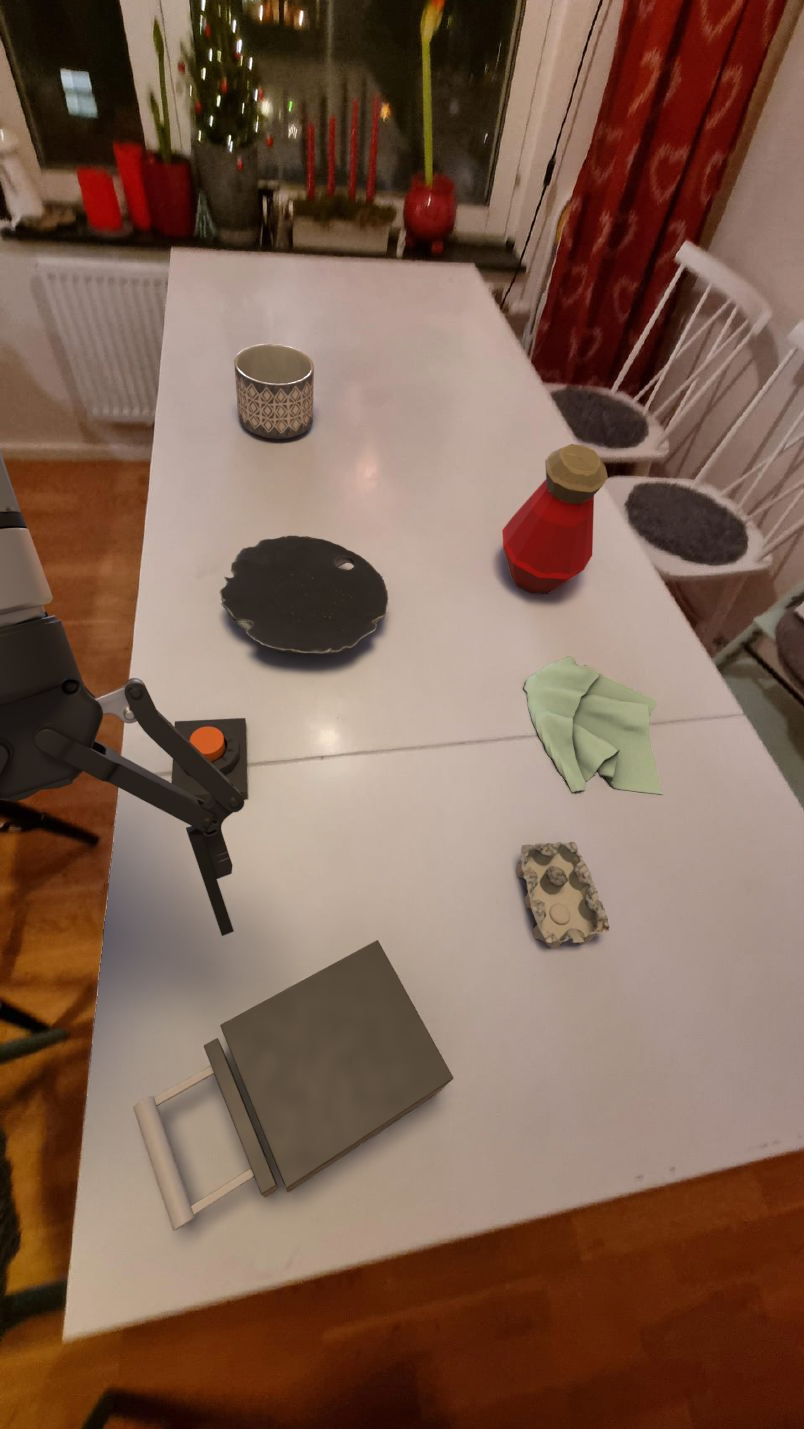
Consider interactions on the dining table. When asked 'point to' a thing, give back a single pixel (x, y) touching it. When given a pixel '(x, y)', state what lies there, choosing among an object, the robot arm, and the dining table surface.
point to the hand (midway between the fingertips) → (114, 970)
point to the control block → (228, 763)
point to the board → (304, 595)
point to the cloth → (593, 727)
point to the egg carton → (561, 894)
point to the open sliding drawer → (163, 1153)
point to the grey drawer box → (334, 1062)
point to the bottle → (555, 522)
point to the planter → (274, 390)
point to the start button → (209, 742)
